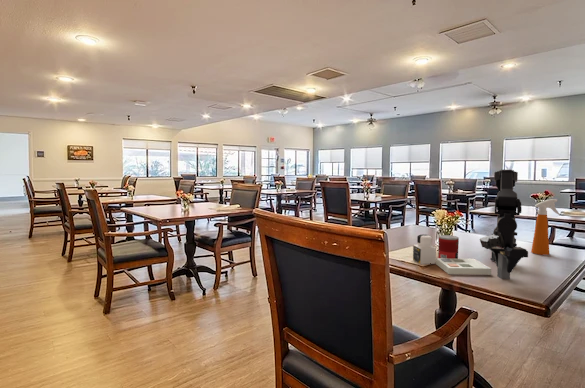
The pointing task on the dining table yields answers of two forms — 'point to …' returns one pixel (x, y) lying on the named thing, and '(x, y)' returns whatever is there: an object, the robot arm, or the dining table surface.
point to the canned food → (448, 246)
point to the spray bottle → (542, 228)
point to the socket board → (463, 266)
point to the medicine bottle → (424, 250)
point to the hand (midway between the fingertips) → (503, 269)
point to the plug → (502, 267)
